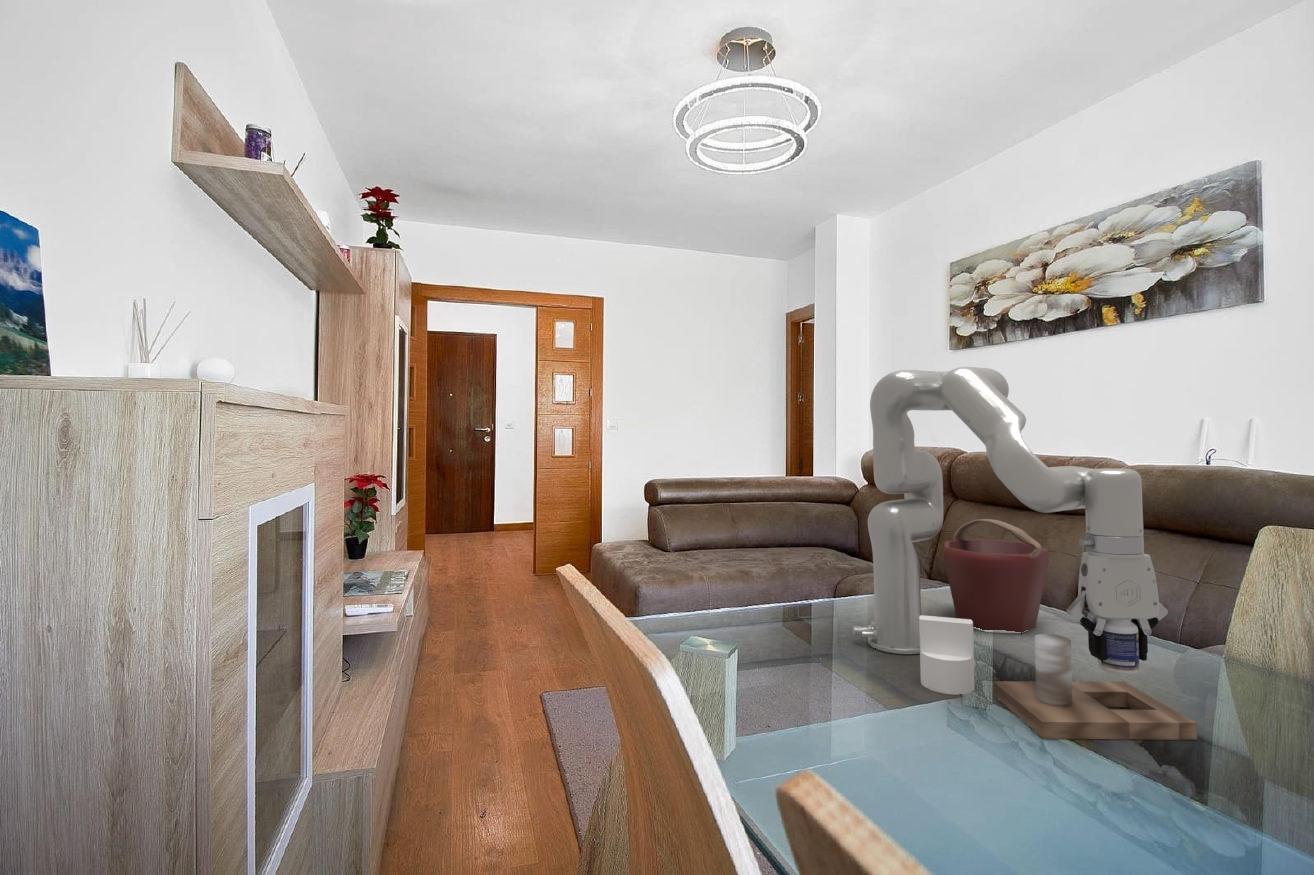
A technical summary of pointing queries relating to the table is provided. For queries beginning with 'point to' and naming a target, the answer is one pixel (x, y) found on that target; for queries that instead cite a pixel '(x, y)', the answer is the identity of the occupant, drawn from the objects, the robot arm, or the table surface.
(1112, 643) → the pill bottle
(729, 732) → the table surface
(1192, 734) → the pin board
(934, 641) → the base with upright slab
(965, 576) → the bucket
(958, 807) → the table surface
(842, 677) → the table surface
